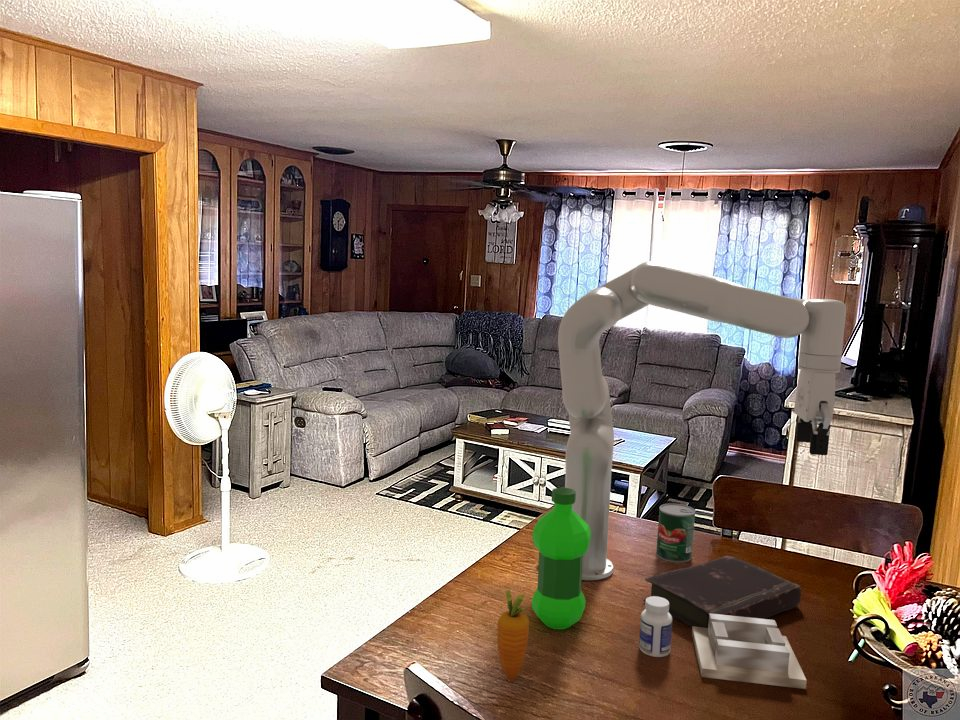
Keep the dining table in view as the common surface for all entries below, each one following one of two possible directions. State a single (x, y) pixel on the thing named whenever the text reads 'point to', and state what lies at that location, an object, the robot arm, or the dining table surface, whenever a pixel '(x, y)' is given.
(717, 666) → the socket board
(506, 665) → the carrot
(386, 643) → the dining table surface
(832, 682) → the dining table surface
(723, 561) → the diary
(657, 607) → the pill bottle
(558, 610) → the plastic bottle
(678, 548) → the canned tomato
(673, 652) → the dining table surface
